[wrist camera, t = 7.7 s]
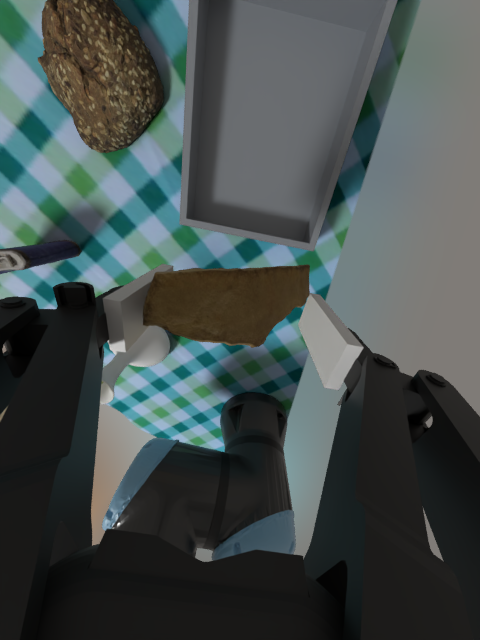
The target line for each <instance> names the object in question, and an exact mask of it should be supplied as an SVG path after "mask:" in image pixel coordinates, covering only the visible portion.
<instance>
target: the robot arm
mask: <svg viewBox="0 0 480 640" xmlns="http://www.w3.org/2000/svg"><path fill="white" fill-rule="evenodd" d="M169 271H173V266H170V265H165V264H162V265H160V266H158V267H156V268H155V269H153V270H151V271H149V272H148V273H146V274H144V275H142V276H141V277H139V278H137V279H135V280H134V281H132V282H130V283H129V284H127V285H125V286H119V287H115V288H112V289H111V290H109V291H108V292H105V293H103V295H102V294H101V295H100V296H98V297H96V298H95V293H94V288H93V285H91V284H88V283H84V282H67V283H61V284H58V285H56V286H54V287H53V290H54V294H55V298H56V301H57V305H58V307H57V309H38V306H37V302H36V300H34V299H32V298H27V297H7V298H5V299H1V300H0V415H1V414H2V412H3V411H4V410H5V409H6V408H7V409H6V411H5V413H4V415H3V417H2V419H1V421H0V640H480V417H479V415H478V414H477V413H476V412H475V411H474V410H473V409H472V407H471V406H470V405H469V404H468V403H467V402H466V400H465V399H464V398H463V397H462V396H461V395H460V394H459V392H458V391H457V390H456V389H455V388H454V386H452V385H451V384H450V383H449V382H448V381H447V380H445V379H444V378H443V377H442V376H440V375H438V374H436V373H432V372H429V371H426V370H419V371H418V372H417V373H416V375H415V376H414V377H412V376H409V375H406V374H404V373H401V372H400V371H399V368H398V366H397V365H396V364H395V363H394V362H393V361H391V360H390V359H388V358H386V357H384V356H382V355H379V354H376V353H372V352H371V351H370V349H369V348H368V347H367V346H366V345H365V344H364V343H363V342H362V340H361V339H359V337H358V335H357V334H356V333H355V332H353V331H352V330H350V329H349V328H347V327H346V326H345V325H344V323H343V322H342V321H341V320H340V318H339V317H338V316H337V315H336V314H335V313H334V311H333V310H332V309H331V308H330V307H329V306H328V304H327V303H326V302H325V301H324V299H323V298H322V297H321V296H320V295H317V294H312V293H310V294H309V297H308V300H307V302H306V305H305V308H304V310H303V313H302V316H301V318H300V321H299V324H298V326H299V328H300V331H301V333H302V336H303V338H304V340H305V343H306V345H307V347H308V350H309V352H310V355H311V357H312V359H313V362H314V364H315V367H316V369H317V371H318V374H319V376H320V379H321V381H322V383H323V386H324V388H329V389H335V390H339V389H340V387H341V385H342V383H343V382H345V384H346V386H347V389H346V391H345V393H344V395H343V396H342V398H341V400H340V401H339V403H338V405H339V406H340V405H341V409H340V413H339V418H338V422H337V427H336V431H335V436H334V441H333V445H332V450H331V455H330V459H329V464H328V468H327V472H326V477H325V482H324V486H323V491H322V495H321V500H320V504H319V509H318V514H317V518H316V523H315V527H314V532H313V536H312V540H311V544H310V546H309V549H308V551H307V553H306V555H305V558H304V560H303V556H300V555H293V553H294V551H295V546H296V539H295V527H294V512H293V510H292V504H291V497H290V491H289V484H288V478H287V471H286V464H285V459H284V451H283V447H284V441H285V435H286V429H287V417H286V412H285V409H284V407H283V405H282V404H281V403H280V402H279V401H278V400H276V399H275V398H273V397H271V396H269V395H266V394H262V393H244V394H240V395H237V396H235V397H233V398H231V399H230V400H228V401H227V402H226V403H225V405H224V406H223V408H222V411H221V418H220V425H221V430H222V435H223V440H224V445H225V452H221V451H217V450H213V449H208V448H204V447H199V446H195V445H191V444H186V443H182V442H179V440H169V439H163V438H154V439H152V440H150V441H149V442H147V443H146V444H145V445H144V446H143V448H142V449H141V450H140V452H139V453H138V454H137V456H136V457H135V459H134V461H133V462H132V464H131V465H130V467H129V469H128V470H127V472H126V474H125V476H124V477H123V479H122V481H121V483H120V485H119V487H118V489H117V490H116V493H115V494H114V496H113V499H112V501H111V503H110V505H109V509H108V511H107V513H106V515H105V517H104V520H103V524H102V528H103V530H105V534H104V536H103V538H102V540H101V542H100V544H97V545H93V546H92V524H91V500H92V489H93V477H94V465H95V454H96V441H97V429H98V418H99V406H100V394H101V382H102V370H103V358H104V349H103V344H105V343H106V342H107V341H108V340H109V346H110V350H114V351H120V352H127V351H128V349H129V348H130V347H131V346H132V345H133V344H134V343H135V342H136V341H137V339H138V338H139V337H140V336H141V335H142V334H143V333H144V332H145V331H146V329H147V328H148V327H149V326H144V325H143V307H144V303H145V299H146V296H147V293H148V290H149V288H150V285H151V282H152V279H153V277H154V274H155V273H156V272H169ZM3 345H5V347H6V350H7V351H6V352H4V353H3V352H2V348H3ZM431 416H432V417H433V422H432V425H431V427H430V428H428V427H427V425H426V423H425V422H426V421H427V420H428V419H429V418H430V417H431ZM422 506H423V507H422ZM423 508H424V511H425V514H426V516H427V519H428V521H429V524H430V527H431V529H432V532H433V534H434V537H435V540H436V542H437V545H438V548H439V550H440V553H441V555H442V558H443V560H444V562H443V561H442V560H441V559H439V558H438V557H436V556H435V555H433V553H432V551H431V549H430V546H429V542H428V537H427V531H426V525H425V519H424V513H423ZM197 548H204V549H209V550H212V551H213V553H212V560H213V561H210V562H202V561H200V560H198V559H196V558H195V555H196V550H197Z"/></svg>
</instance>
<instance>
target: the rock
mask: <svg viewBox="0 0 480 640" xmlns="http://www.w3.org/2000/svg"><path fill="white" fill-rule="evenodd" d="M309 269H310V266H309V265H299V266H277V267H263V268H246V269H238V268H235V269H224V268H219V269H200V268H193V269H186V270H179V271H169V272H156V273H155V274H154V277H153V279H152V282H151V285H150V288H149V290H148V293H147V296H146V299H145V303H144V307H143V325H144V326H155V325H156V326H158V327H161V328H163V329H164V330H168V331H169V332H170V333H172V334H174V335H178V336H182V337H185V338H188V339H191V340H195V341H199V342H212V343H225V344H227V345H237V344H241V345H249V346H251V348H253V347H257V346H258V347H259V346H260V345H262V344H263V343H264V342H265V340H266V337H267V336H268V334H269V332H270V331H271V330H272V329H273V327H274V326H275V325H276V324H278V322H281V321H282V320H283V319H284V318H285V317H286V316H287V315H288V314H290V313H291V311H292V310H293V308H295V307H302V306H303V305H304V304H305V303H306V299H307V298H308V296H309Z"/></svg>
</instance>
